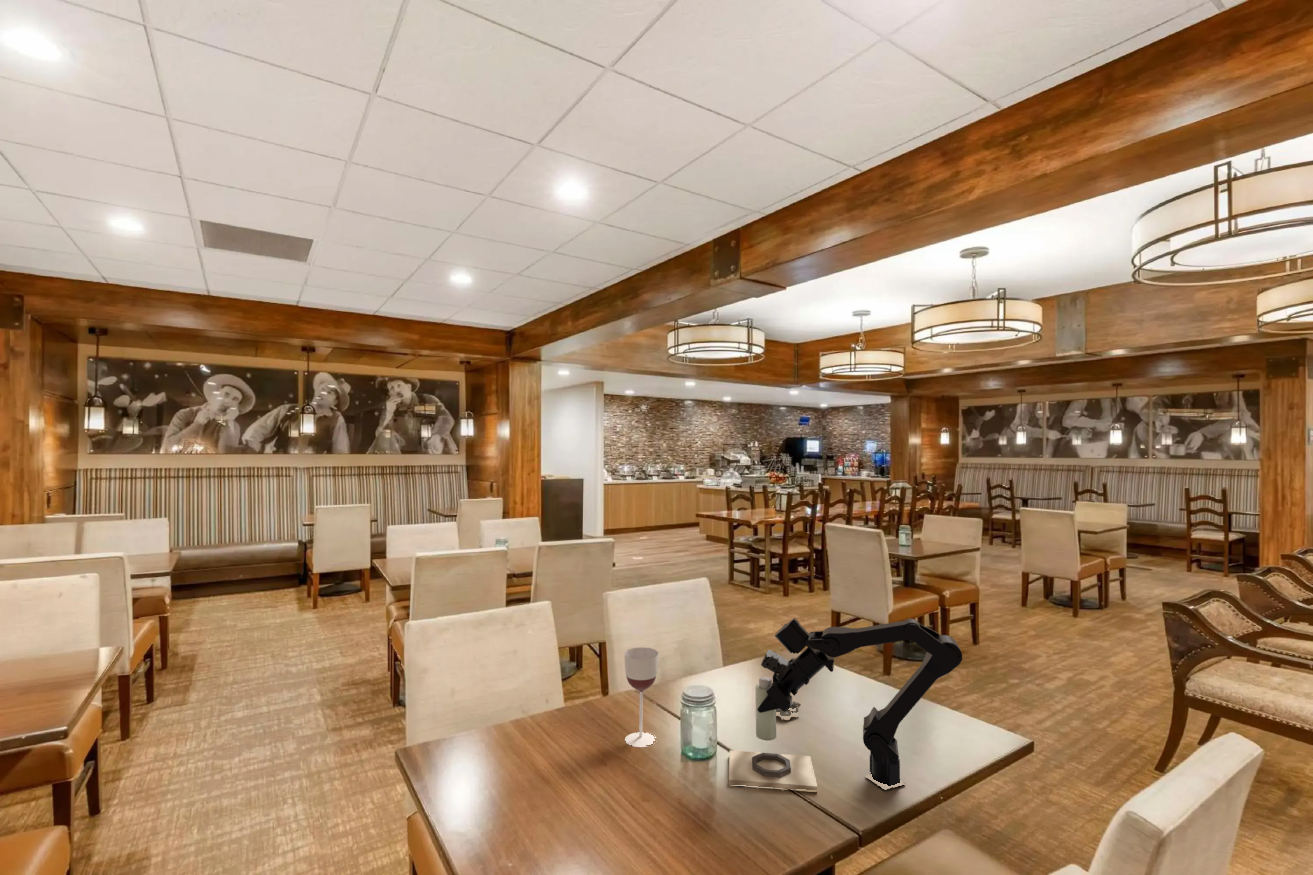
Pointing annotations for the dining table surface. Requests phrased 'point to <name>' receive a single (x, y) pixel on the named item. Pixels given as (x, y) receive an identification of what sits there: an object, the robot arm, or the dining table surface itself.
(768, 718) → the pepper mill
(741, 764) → the board
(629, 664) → the wineglass
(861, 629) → the robot arm
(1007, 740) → the dining table surface
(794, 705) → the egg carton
